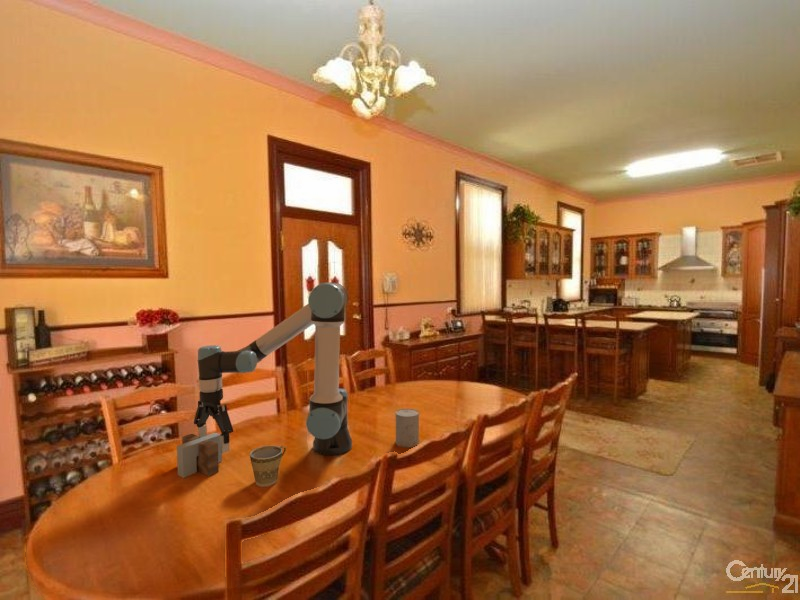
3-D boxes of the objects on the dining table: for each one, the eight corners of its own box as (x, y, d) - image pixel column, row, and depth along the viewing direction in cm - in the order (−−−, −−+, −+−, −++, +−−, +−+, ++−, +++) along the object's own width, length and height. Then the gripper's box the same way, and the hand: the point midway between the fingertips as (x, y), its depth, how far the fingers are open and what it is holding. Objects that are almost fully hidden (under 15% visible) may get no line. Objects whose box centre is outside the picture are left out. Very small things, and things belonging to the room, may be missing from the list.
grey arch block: (222, 461, 144) (221, 434, 144) (183, 477, 133) (182, 448, 132) (216, 459, 146) (215, 432, 146) (177, 475, 135) (176, 446, 134)
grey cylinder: (422, 440, 164) (422, 410, 163) (413, 449, 155) (413, 418, 155) (401, 436, 168) (401, 407, 167) (391, 444, 159) (391, 414, 159)
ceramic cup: (264, 493, 123) (263, 461, 123) (243, 484, 129) (243, 453, 128) (296, 475, 134) (295, 446, 134) (275, 467, 140) (275, 440, 139)
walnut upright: (218, 472, 137) (217, 443, 136) (209, 476, 134) (208, 447, 133) (192, 460, 145) (191, 433, 145) (182, 464, 142) (182, 436, 142)
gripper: (242, 391, 138) (245, 451, 139) (201, 382, 152) (204, 437, 153) (222, 397, 132) (225, 460, 133) (181, 387, 146) (184, 444, 147)
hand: (214, 448), depth 143 cm, fingers open, 13 cm apart
